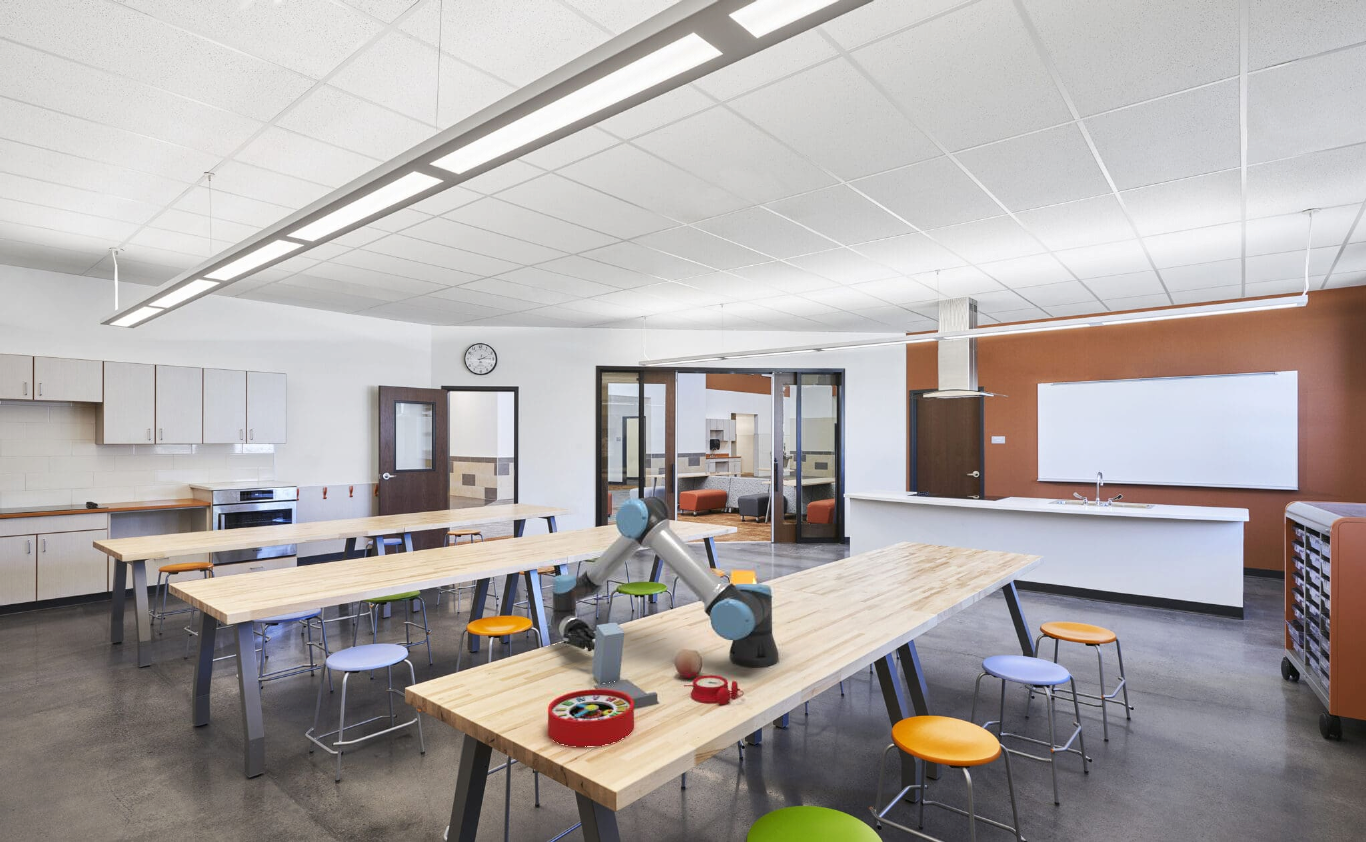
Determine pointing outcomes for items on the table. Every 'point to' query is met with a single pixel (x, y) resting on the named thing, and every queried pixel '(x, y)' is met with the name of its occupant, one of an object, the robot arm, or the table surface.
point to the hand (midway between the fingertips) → (602, 649)
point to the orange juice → (743, 577)
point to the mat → (631, 692)
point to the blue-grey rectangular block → (608, 653)
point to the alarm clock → (713, 689)
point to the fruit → (688, 663)
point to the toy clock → (590, 717)
